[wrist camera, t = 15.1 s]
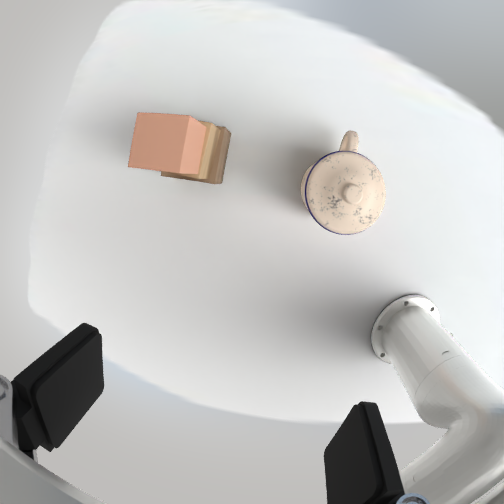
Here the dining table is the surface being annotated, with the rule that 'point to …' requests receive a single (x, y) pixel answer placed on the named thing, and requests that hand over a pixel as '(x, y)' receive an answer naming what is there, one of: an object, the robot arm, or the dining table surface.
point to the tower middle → (206, 152)
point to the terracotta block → (167, 143)
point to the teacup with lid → (344, 189)
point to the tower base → (218, 161)
